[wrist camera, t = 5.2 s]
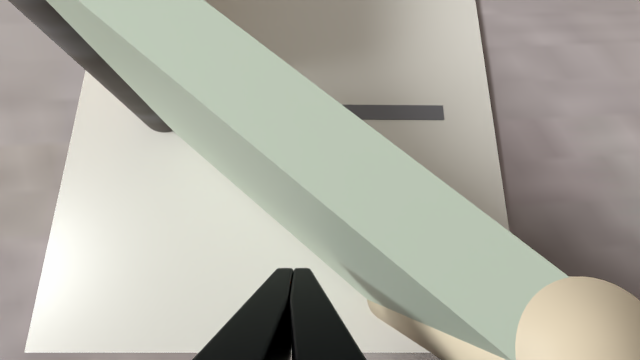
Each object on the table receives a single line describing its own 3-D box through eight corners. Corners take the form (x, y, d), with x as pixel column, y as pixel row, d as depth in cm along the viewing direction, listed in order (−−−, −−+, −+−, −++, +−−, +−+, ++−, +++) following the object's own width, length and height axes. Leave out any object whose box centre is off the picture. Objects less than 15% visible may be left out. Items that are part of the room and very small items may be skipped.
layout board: (520, 350, 15) (528, 352, 14) (33, 350, 15) (23, 352, 14) (455, -101, 22) (459, -110, 22) (129, -106, 22) (125, -116, 21)
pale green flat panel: (392, 330, 14) (635, 501, 3) (171, 137, 16) (-105, -128, 6) (417, 295, 15) (708, 350, 4) (198, 112, 17) (-11, -183, 6)
